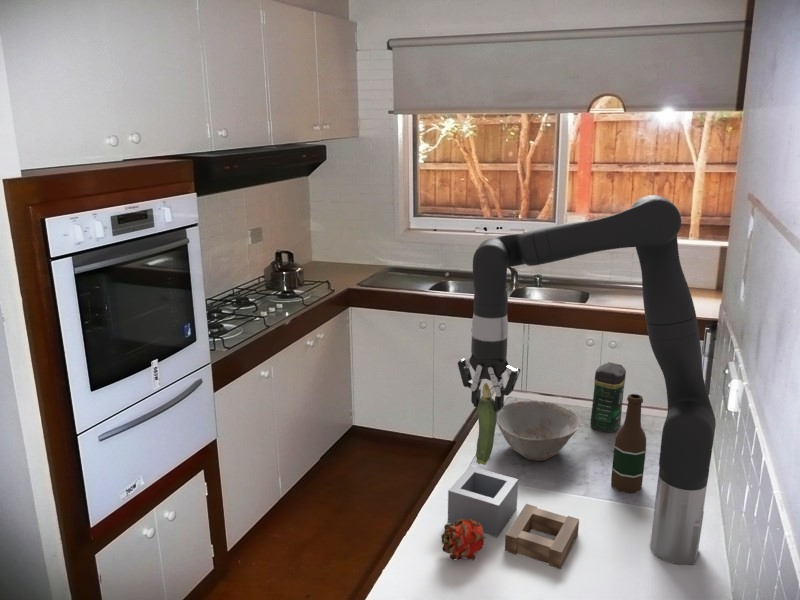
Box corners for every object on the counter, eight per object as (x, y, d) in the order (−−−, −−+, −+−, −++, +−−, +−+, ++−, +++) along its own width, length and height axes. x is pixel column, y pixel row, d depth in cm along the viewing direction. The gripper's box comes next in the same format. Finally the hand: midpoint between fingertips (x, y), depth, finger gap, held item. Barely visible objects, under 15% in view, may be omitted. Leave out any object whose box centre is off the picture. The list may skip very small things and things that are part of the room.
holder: (516, 509, 157) (518, 479, 155) (497, 537, 147) (498, 505, 145) (469, 495, 163) (470, 465, 161) (447, 521, 153) (448, 490, 151)
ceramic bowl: (487, 467, 176) (488, 432, 173) (500, 427, 197) (501, 396, 194) (575, 480, 169) (577, 444, 167) (579, 438, 191) (581, 405, 188)
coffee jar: (614, 435, 192) (620, 374, 187) (586, 428, 196) (592, 368, 191) (623, 422, 200) (629, 363, 194) (597, 415, 204) (602, 358, 198)
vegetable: (482, 457, 154) (485, 375, 149) (498, 463, 152) (502, 380, 146) (471, 464, 151) (474, 382, 145) (488, 471, 148) (491, 387, 143)
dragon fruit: (441, 574, 138) (473, 552, 148) (472, 566, 133) (503, 544, 143) (425, 533, 140) (458, 515, 150) (455, 524, 135) (487, 505, 144)
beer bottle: (648, 484, 167) (658, 395, 160) (634, 497, 162) (644, 406, 155) (618, 473, 172) (627, 386, 166) (604, 485, 167) (612, 396, 160)
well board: (577, 534, 148) (579, 519, 147) (560, 569, 137) (561, 552, 136) (525, 518, 154) (526, 503, 153) (504, 550, 143) (505, 534, 142)
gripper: (528, 333, 142) (524, 408, 147) (465, 323, 149) (464, 395, 154) (515, 344, 136) (512, 422, 141) (451, 333, 143) (450, 407, 148)
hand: (487, 407), depth 147 cm, fingers closed on vegetable, 4 cm apart
